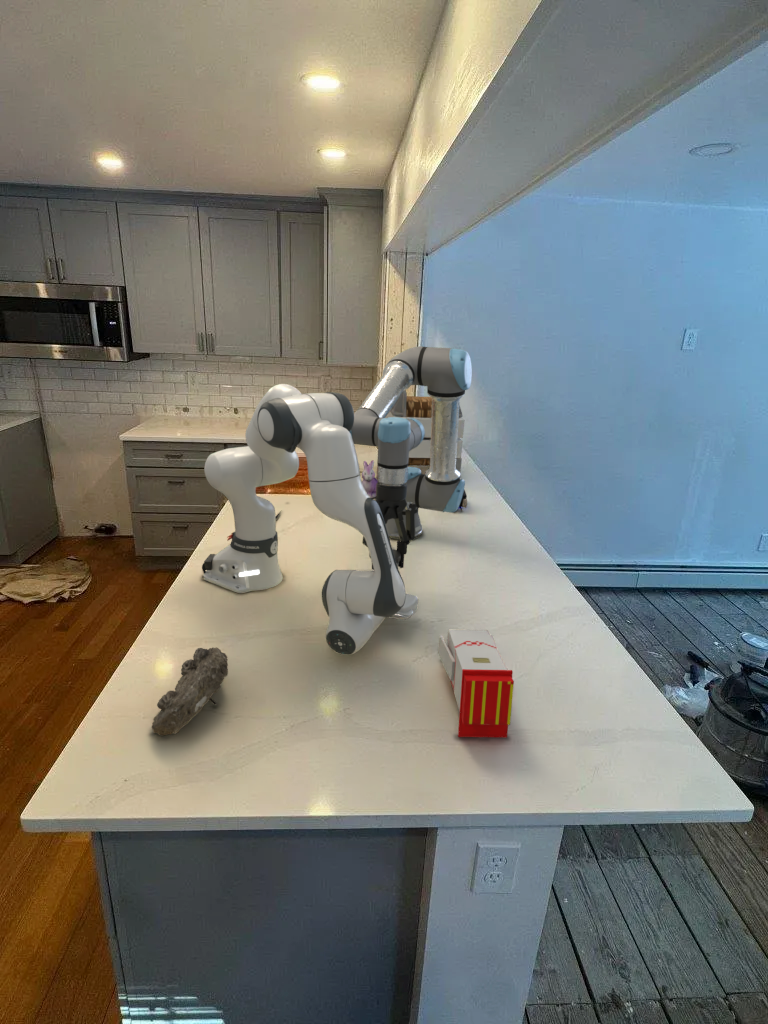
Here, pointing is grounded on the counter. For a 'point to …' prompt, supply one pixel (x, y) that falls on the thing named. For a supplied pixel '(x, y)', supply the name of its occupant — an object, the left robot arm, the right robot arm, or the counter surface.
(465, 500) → the figurine character
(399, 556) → the lid
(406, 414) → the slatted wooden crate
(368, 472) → the figurine
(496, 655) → the toy
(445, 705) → the counter surface
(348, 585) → the left robot arm
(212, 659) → the fossil
